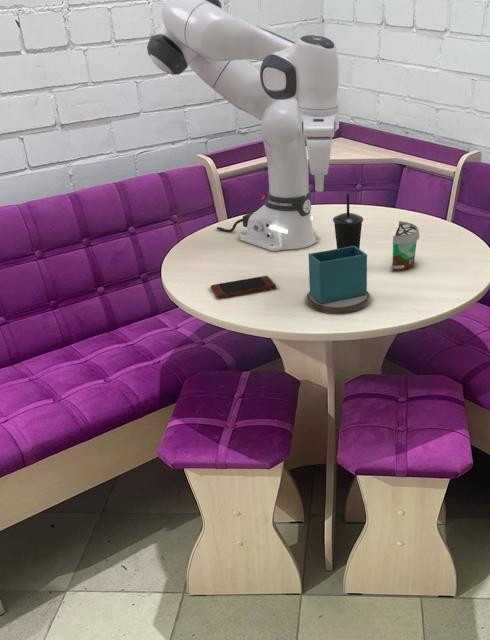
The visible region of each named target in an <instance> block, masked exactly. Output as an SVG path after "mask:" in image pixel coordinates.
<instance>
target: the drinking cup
mask: <svg viewBox="0 0 490 640" xmlns="http://www.w3.org/2000/svg"><path fill="white" fill-rule="evenodd" d="M332 222H333V225H334V235H335V242H336V243H335V244H336V249H339V248H345V247H350V246H356V247H357V248H359V249H360V248H361V238H362V237H361V235H362V226H363V222H364V217H362V216H361V215H360V214H357V213H353V212H350V193H346V212H344V213H339V214H337V215H335V216H334V217H333V218H332Z"/></svg>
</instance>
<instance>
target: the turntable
mask: <svg viewBox="0 0 490 640" xmlns="http://www.w3.org/2000/svg"><path fill="white" fill-rule="evenodd" d="M370 295H371V294H370V293H369V291H368V290H367V294H365V295H360V296H355V297H351V298H346V299H341V300H336V301H331V302H326V303H320V302H319V301H317V300H316V299H315V298H314V297H313V296H312V295H311V294H310V291H308V293H307V294H306V301H307V302H306V303H307V305H308V306H309V307H310V308H311V309H313V310H314V311H318V312H320V313H324V314H334V315H335V314H336V315H340V314H341V315H343V314H350V313H354V312H358V311H362V310H363V309H364V308H366V307H367V306H369V303H370V300H371V296H370Z"/></svg>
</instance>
